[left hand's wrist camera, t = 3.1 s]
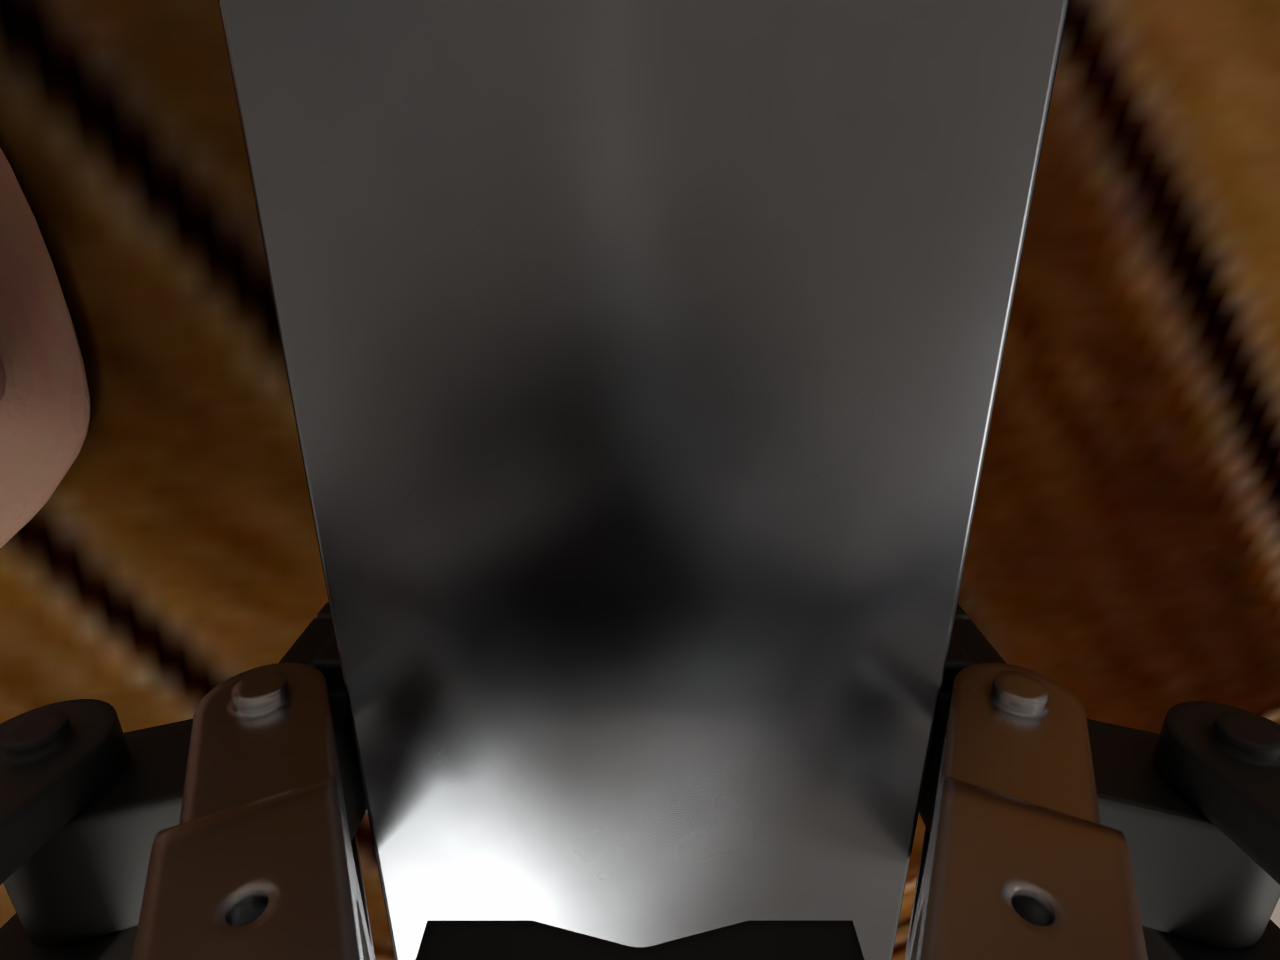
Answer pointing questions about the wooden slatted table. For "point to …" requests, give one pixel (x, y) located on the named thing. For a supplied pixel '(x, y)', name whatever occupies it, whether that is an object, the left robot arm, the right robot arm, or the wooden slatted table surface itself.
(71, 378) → the anatomical model
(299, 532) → the wooden slatted table surface
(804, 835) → the box
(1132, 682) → the wooden slatted table surface
